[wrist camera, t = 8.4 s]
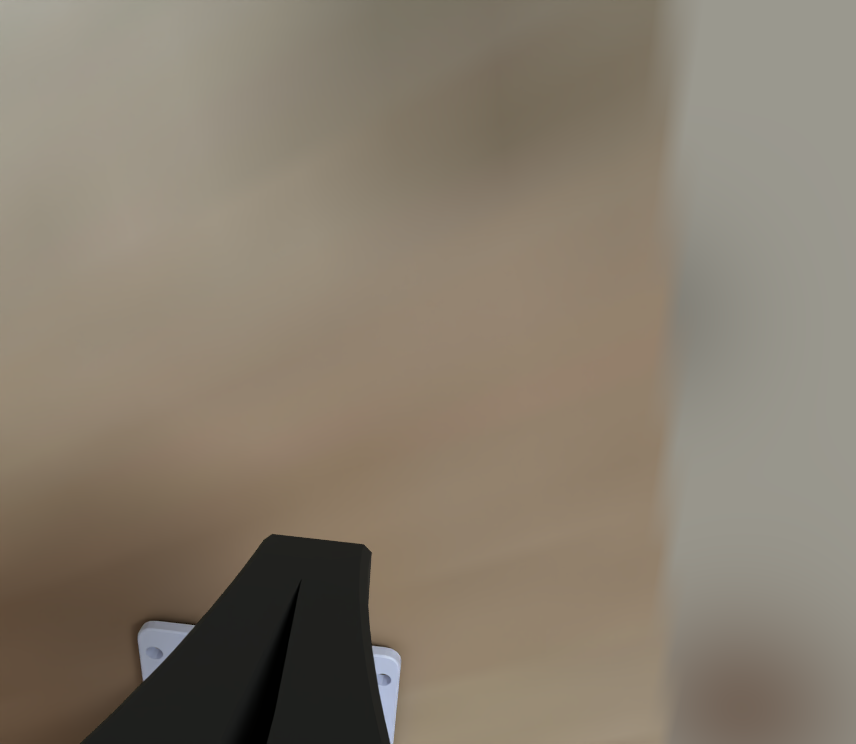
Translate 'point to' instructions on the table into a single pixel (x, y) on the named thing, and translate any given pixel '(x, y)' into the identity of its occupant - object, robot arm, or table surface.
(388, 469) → the table surface
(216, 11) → the table surface
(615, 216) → the table surface
